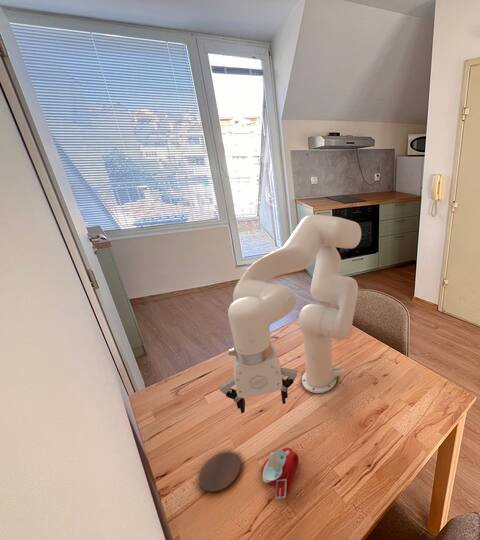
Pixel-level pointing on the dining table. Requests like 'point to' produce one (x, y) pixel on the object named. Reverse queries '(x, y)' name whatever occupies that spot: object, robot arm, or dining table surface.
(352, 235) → the robot arm
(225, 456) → the dark brown coaster
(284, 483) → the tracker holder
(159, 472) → the dining table surface
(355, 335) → the dining table surface
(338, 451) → the dining table surface
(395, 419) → the dining table surface
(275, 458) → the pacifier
